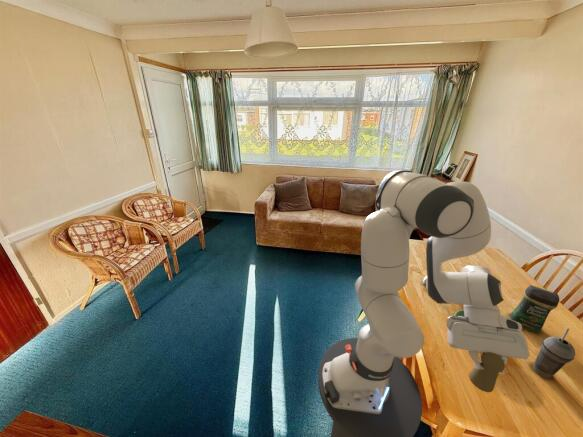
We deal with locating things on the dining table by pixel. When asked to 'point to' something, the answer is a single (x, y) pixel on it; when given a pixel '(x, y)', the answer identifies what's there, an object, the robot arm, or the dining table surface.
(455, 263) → the dining table surface
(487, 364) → the brown peanut shape
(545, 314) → the coffee jar
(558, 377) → the dining table surface
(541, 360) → the beverage cup
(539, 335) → the dining table surface
